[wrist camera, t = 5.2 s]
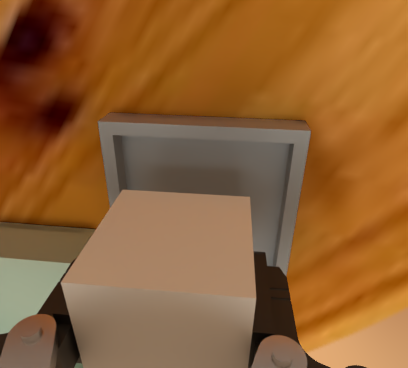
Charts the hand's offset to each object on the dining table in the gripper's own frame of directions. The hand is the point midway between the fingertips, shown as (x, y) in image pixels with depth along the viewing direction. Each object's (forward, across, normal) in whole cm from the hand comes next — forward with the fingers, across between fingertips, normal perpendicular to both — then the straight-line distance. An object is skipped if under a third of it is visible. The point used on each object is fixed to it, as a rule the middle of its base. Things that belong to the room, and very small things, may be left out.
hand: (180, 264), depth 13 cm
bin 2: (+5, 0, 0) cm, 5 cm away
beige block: (+1, 0, 0) cm, 1 cm away
